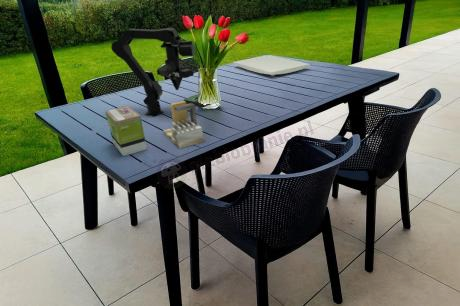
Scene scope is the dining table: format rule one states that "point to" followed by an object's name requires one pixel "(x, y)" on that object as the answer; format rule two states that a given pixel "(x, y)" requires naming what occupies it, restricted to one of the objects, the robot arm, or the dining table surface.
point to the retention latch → (178, 115)
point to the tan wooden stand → (185, 129)
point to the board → (271, 65)
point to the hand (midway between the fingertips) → (177, 89)
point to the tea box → (126, 130)
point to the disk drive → (194, 101)
